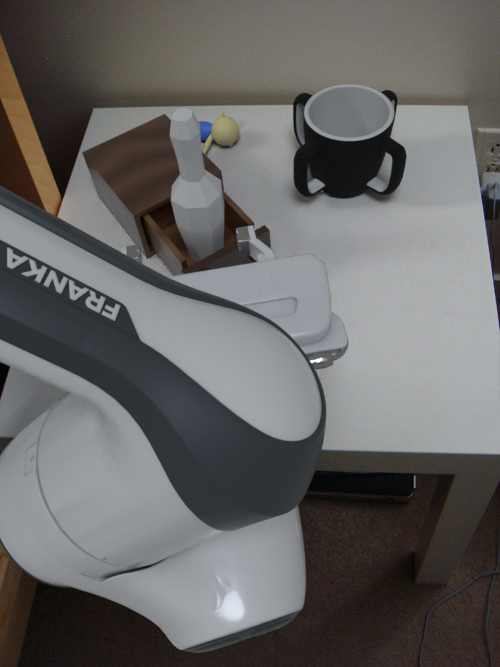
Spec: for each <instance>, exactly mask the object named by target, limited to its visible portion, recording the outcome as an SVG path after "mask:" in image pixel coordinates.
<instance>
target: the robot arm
mask: <svg viewBox="0 0 500 667" xmlns="http://www.w3.org/2000/svg"><path fill="white" fill-rule="evenodd" d="M254 228H255V225H254V226H253V225H251V226H245V227H240V228H236V234H237V235H236V236H237V242H238V246H239V252H240V256H245V255H250V256H251V257H252V258H253V259H254V260H255V261H257V262H254V263H248V264H242V265H236V266H230V267H224V268H218V269H212V270H206V271H200V272H194V273H188V274H182V275H176V276H175V275H171V276H166V275H164V274H163V273H160V272H158V271H157V270H154V269H153V268H151V267H149V266H147V265H145V264H144V260H143V253H142V252H141V251H140V248H139V245H138V244H137V245H136V244H130V245H124V246H120V247H119V250H118V249H117V248H115V247H113V246H111V245H109V244H107V243H106V242H104V241H102V240H100V239H98V238H96V237H94V236H93V235H90V234H89V233H87V232H85V231H84V230H82V229H80V228H78V227H76V226H75V225H73V224H70V223H69V222H67V221H65V220H63V219H62V218H60V217H59V216H57V215H54V214H53V213H51V212H49V211H47V210H45V209H43V208H42V207H40V206H38V205H36V204H34V203H33V202H31V201H29V200H27V199H26V198H24V197H22V196H20V195H19V194H16V193H14V192H13V191H10V190H9V189H7V188H6V187H4V186H2V185H0V363H1V364H4V365H6V366H8V367H11V368H13V369H15V370H17V371H20V372H22V373H24V374H26V375H29V376H31V377H32V378H36V379H38V380H40V381H42V382H44V383H46V384H49V385H52V386H53V387H56V388H58V389H60V390H62V391H65V392H67V393H68V394H66V395H65V396H63V397H61V398H59V399H58V400H57V401H56V402H55V403H53V404H52V405H50V407H49V408H47V409H46V410H44V412H42V413H41V414H40V415H38V416H37V417H36V418H35V419H33V421H31V422H30V423H28V425H27V426H25V427H24V428H23V429H22V430H21V431H20V432H19V433H18V434H17V435H16V436H15V437H14V438H12V439H11V440H10V441H9V442H8V443H7V444H6V445H4V448H3V449H2V450H1V451H0V545H1V547H2V549H3V550H4V551H5V553H6V554H7V556H8V557H9V558H10V559H11V561H12V562H13V563H14V564H15V565H16V566H17V567H18V568H19V569H20V570H21V571H22V572H24V574H26V575H28V576H29V577H30V578H32V579H34V580H35V581H37V582H40V583H42V584H45V585H47V586H51V587H56V588H64V589H65V588H73V589H77V590H79V591H82V592H86V593H89V594H92V595H96V596H97V597H101V598H104V599H107V600H110V601H112V602H114V603H117V604H119V605H121V606H124V607H126V608H128V609H130V610H131V611H134V612H136V613H138V614H139V615H141V616H143V617H144V618H147V619H148V620H149V621H151V623H154V624H155V625H156V626H157V627H159V629H160V630H161V632H163V634H165V636H166V638H167V639H168V640H169V641H170V643H171V644H172V645H173V646H174V647H176V648H177V649H178V650H180V651H183V652H189V653H190V652H191V653H193V654H198V653H200V654H201V653H208V652H212V651H215V650H219V649H221V648H224V647H228V646H231V645H235V644H237V643H239V642H242V641H244V640H248V639H251V638H255V637H259V636H262V635H264V634H267V633H270V632H273V631H276V630H278V629H280V628H283V627H285V626H287V625H289V624H290V623H291V622H292V621H293V620H295V619H296V617H297V615H298V614H299V613H300V612H301V611H302V610H303V608H304V606H305V600H306V594H307V593H306V591H307V566H306V565H307V564H306V563H307V562H306V551H305V541H304V534H303V526H302V521H301V515H300V509H299V504H301V502H302V501H303V499H304V498H305V496H306V494H307V491H308V489H309V487H310V486H311V482H312V481H313V478H314V475H315V473H316V470H317V467H318V465H319V461H320V458H321V454H322V450H323V445H324V440H325V436H326V435H325V434H326V425H327V401H326V396H325V391H324V388H323V385H322V382H321V379H320V376H319V375H318V372H317V370H323V369H326V368H329V367H332V366H333V365H334V362H335V361H337V360H339V359H341V358H342V357H343V356H344V355H345V354H346V353H347V351H348V348H349V342H350V341H349V337H348V334H347V330H346V327H345V324H344V322H343V320H342V318H341V317H340V316H338V314H336V313H335V312H333V311H332V310H333V309H332V308H333V307H332V295H331V287H330V286H331V285H330V281H329V275H328V272H327V266H326V264H325V261H323V259H320V258H319V257H318V256H316V255H315V254H313V253H303V254H296V255H292V256H285V257H278V258H276V255H275V252H274V250H273V249H272V248H271V249H270V248H269V247H268V246H266V245H265V244H264V243H263V242H261V241H260V240H259V239H256V235H255V230H256V229H255V230H254Z"/></svg>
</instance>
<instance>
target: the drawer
mask: <svg viewBox="0 0 500 667" xmlns="http://www.w3.org/2000/svg"><path fill="white" fill-rule="evenodd" d="M222 191H223V190H222ZM223 199H224V248H222V249H220V250H218V251H216V252H214V253H213V254H211V255H209V256H207V257H205V258H204V259H202V260H200V261H198V262H196V261H194V260H193V259H191V257H190V254H189V252H188V250H187V248H186V245H185V243H184V241H183V238H182V236H181V234H180V231H179V229H178V227H177V224H176V220H175V216H174V212H173V207H172V203H171V201H170V202H169V203H167V204H165V205H163V206H161V207H159V208H157V209H155V210H153V211H151V212H149V213H147V214H145V215H143V216H141V217H140V220H141V223H142V226H143V229H144V233H145V236H146V239H147V242H148V243H149V244H150V245H151V247H152V248H153V249H154V250H155V252H156V253H157V254H156V255H158V257H159V258H160V259H161V261H162V262H163V263H164V264H165V266H166V267H167V268H168V269H169V270H170V272H171V273H172V274H173V276H176V275H182V274H188V273H194V272H200V271H206V270H212V269H218V268H224V267H230V266H236V265H242V264H248V263H254V262H257V261H255V260H254V259H253V258H252V257H251V256H250V255H245V256H240V252H239V246H238V242H237V236H236V235H237V234H236V228H240V227H245V226H251V225H253V226H254V230H255V235H256V239H259V240H260V241H261V242H263V243H264V244H265V245H266V246H268V247H269V248H270V249H271V250H272V248H271V246H272V245H271V231H270V229H269V228H268V227H267V225H265V224H263V225H262V226H259V227H258V228H256V229H255V222H254V220H252V218H250V216H248V214H246V212H244V210H243V209H242V208H241V207H240V206H239V205H238V204H237V203H236V202H235V201H234V200H233V199H232V198H231V197H230V196H229V195H228V194H227V193H226V192H225V190H224V191H223Z"/></svg>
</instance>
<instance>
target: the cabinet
mask: <svg viewBox="0 0 500 667" xmlns="http://www.w3.org/2000/svg"><path fill="white" fill-rule="evenodd" d="M170 126H171V118H170V117H168V115H167V114H165V113H164V114H161V115H159V116H157V117H154V118H152V119H150V120H148V121H146V122H144V123H142V124H139V125H138V126H136V127H133V128H130V129H129V130H126V131H125V132H123V133H121V134H118V135H116V136H114V137H112V138H109V139H107V140H106V141H105V140H104V141H103V142H100V143H98V144H96V145H95V146H92V147H91V148H88V149H86V150H84V151H82V152H81V154H82V156H83V159H84V162H85V164H86V167H87V169H88V173H89V175H90V178H91V181H92V183H93V185H94V188H95V191H96V193H97V196H98V199H100V201H101V202H102V204H104V206H105V207H106V208H107V210H108V211H109V212H110V213H111V215H112V216H113V218H114V219H115V220H116V221H117V222H118V224H119V225H120V226H121V227H122V229H123V230H124V231H125V233H126V234H127V235H128V237H129V238H130V239H131V241H132V242H133V243H134V245H137V244H138V245H139V248H140V251H141V254H142V255H143V256H144V257H145V258H146V260H148V259H150V258H152V257H153V256H155V255H158V254H157V253H156V252H155V250H154V249H153V248H152V247H151V245H150V244H149V243H148V242H147V239H146V236H145V233H144V229H143V226H142V223H141V220H140V217H141V216H143V215H145V214H147V213H149V212H151V211H153V210H155V209H157V208H159V207H161V206H163V205H165V204H167V203H169V202H170V201H171V192H172V185H173V184H174V182H175V181H176V179H177V178H178V177H179V175H180V170H179V166H178V161H177V157H176V154H175V151H174V148H173V145H172V142H171V139H170ZM202 155H203V162H204V168H205V170H206V171H208V172H209V173H211V174H212V175H214V176H215V177H217V178H218V179H220V180H221V184H222V190H223V191H224V192H225V188H224V187H225V186H224V181H223V173H222V170H221V169H220V167H218V166H217V165H216V164H215V163H214V162H213V160H211V159H210V158H209V157H208V156H207V155H206V153H205V154H204V153H203V152H202Z"/></svg>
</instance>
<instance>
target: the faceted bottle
mask: <svg viewBox="0 0 500 667" xmlns="http://www.w3.org/2000/svg"><path fill="white" fill-rule="evenodd" d="M170 120H171V126H170V139H171V142H172V145H173V148H174V151H175V154H176V157H177V161H178V166H179V170H180V175H179V177H178V178H177V179H176V181H175V182H174V184H173V185H172V192H171V203H172V207H173V212H174V216H175V220H176V224H177V227H178V229H179V231H180V234H181V236H182V238H183V241H184V243H185V245H186V248H187V250H188V252H189V254H190V257H191V259H193V260H194V261H196V262H198V261H200V260H202V259H204V258H205V257H207V256H209V255H211V254H213V253H214V252H216V251H218V250H220V249H222V248H224V199H223V191H222V184H221V180H220V179H218V178H217V177H215V176H214V175H212V174H211V173H209V172H208V171H206V170H205V168H204V162H203V155H202V150H203V148H202V141H201V134H200V124H199V122H198V121H199V120H198V118H197V116H196V115H195V113H194V111H193V110H192V109H190V108H187V107H177V108H176V109H174V110H173V111H172V112H171V118H170Z"/></svg>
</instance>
